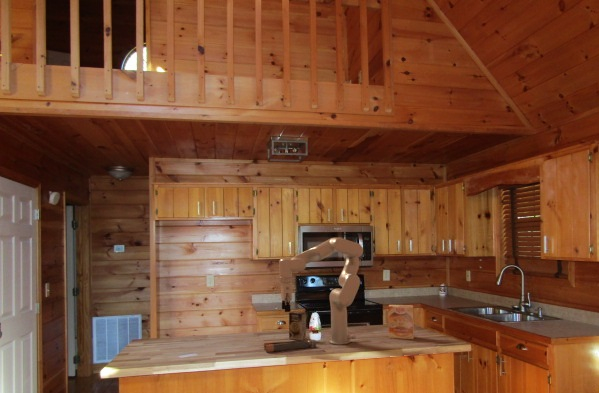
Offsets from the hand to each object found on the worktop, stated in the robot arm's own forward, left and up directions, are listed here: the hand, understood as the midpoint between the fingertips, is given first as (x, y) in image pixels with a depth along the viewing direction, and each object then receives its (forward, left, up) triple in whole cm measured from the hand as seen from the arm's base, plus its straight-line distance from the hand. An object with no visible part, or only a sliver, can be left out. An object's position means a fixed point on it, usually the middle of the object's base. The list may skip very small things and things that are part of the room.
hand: (286, 310), depth 258 cm
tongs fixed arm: (-2, +1, -21) cm, 21 cm away
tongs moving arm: (-1, +5, -21) cm, 21 cm away
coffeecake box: (-74, -6, -21) cm, 77 cm away
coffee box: (-11, -20, -21) cm, 31 cm away
